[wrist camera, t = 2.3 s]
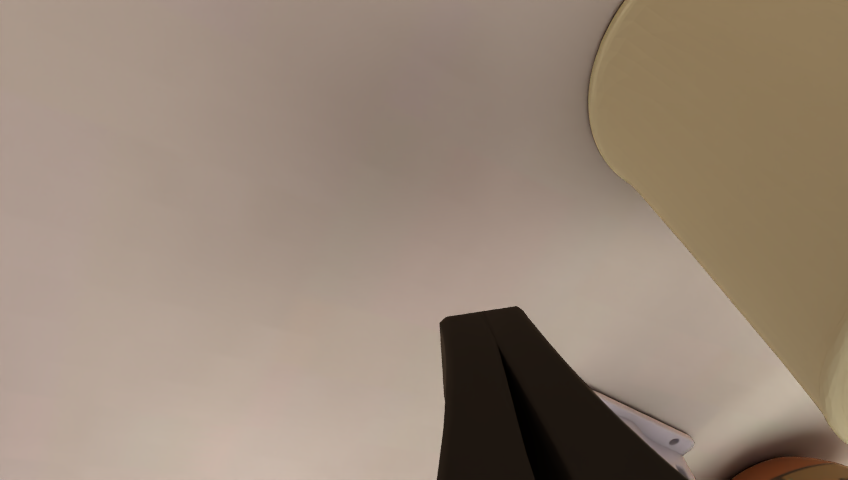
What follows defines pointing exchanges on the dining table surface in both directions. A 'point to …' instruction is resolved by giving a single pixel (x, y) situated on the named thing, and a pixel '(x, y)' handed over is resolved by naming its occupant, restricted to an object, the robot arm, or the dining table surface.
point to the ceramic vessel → (794, 470)
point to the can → (743, 160)
